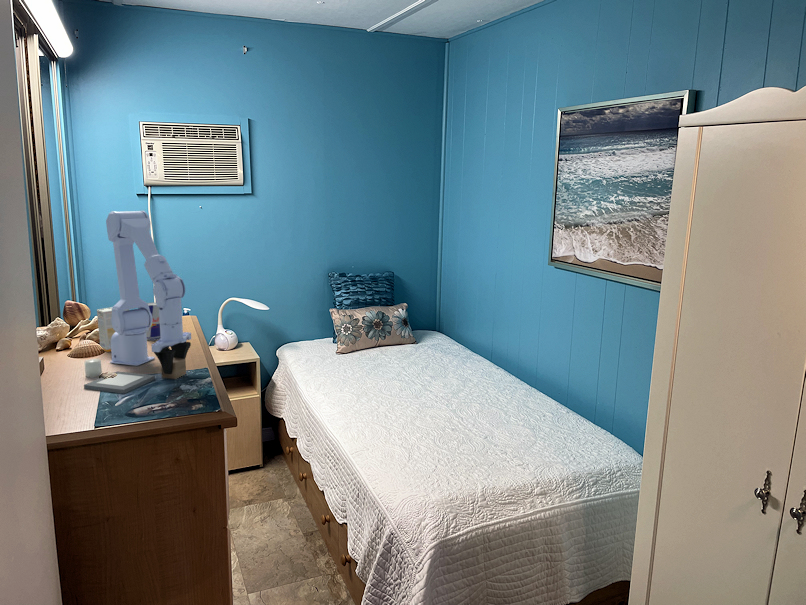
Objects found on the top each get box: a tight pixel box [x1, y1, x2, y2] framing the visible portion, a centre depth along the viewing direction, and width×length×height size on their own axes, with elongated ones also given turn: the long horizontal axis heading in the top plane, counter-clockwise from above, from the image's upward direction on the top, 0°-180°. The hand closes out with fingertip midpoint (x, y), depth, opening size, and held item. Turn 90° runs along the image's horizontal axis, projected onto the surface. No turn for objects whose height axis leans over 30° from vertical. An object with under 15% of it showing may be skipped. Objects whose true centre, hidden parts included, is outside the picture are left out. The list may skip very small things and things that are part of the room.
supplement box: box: [96, 306, 130, 353], centre depth 189 cm, size 8×5×13 cm, turn 140°
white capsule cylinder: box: [84, 358, 103, 378], centre depth 164 cm, size 4×4×4 cm
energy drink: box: [146, 302, 161, 342], centre depth 202 cm, size 5×5×12 cm
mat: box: [83, 371, 156, 394], centre depth 157 cm, size 12×12×1 cm
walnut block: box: [160, 358, 187, 380], centre depth 164 cm, size 4×4×4 cm
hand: (173, 370), depth 164 cm, fingers closed on walnut block, 4 cm apart
